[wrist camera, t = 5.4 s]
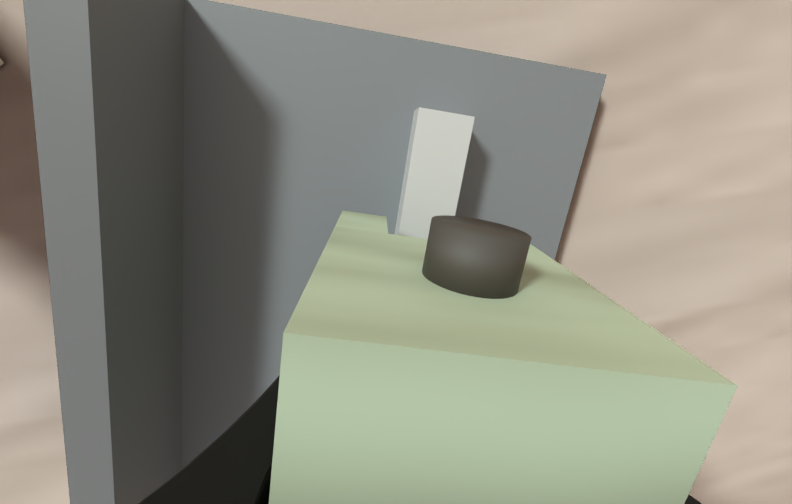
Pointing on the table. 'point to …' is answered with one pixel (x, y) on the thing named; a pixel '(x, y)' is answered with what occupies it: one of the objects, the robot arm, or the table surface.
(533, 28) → the table surface
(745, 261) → the table surface
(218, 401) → the board
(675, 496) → the block
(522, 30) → the table surface
